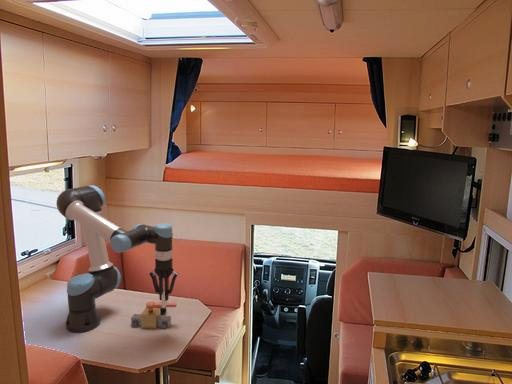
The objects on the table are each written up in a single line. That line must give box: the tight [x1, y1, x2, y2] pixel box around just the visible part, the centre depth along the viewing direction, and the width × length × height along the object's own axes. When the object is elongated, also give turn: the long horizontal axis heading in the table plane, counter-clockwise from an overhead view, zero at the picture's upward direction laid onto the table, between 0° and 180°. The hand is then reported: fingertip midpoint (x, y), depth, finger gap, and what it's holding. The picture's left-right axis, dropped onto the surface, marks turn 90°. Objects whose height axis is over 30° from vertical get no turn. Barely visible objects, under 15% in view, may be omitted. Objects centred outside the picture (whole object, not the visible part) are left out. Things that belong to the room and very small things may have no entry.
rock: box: [154, 301, 167, 316], centre depth 201 cm, size 9×10×6 cm
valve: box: [130, 307, 172, 330], centre depth 192 cm, size 18×7×9 cm, turn 86°
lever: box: [145, 301, 178, 309], centre depth 191 cm, size 14×4×2 cm, turn 93°
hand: (164, 306), depth 185 cm, fingers closed
